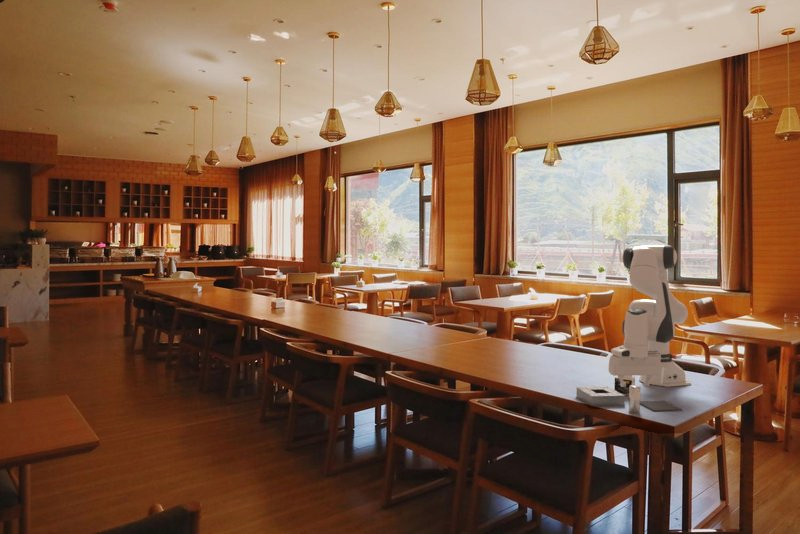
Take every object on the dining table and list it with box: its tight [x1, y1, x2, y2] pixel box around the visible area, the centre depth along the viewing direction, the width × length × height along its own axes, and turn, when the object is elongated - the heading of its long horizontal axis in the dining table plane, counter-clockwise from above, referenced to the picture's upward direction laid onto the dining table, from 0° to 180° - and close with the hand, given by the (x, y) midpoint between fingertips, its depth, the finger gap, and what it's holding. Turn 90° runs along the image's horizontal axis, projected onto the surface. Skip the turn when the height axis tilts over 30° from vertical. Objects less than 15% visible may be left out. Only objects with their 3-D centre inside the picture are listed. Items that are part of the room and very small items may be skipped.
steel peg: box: [628, 384, 642, 415], centre depth 215 cm, size 4×4×10 cm
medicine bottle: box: [613, 375, 636, 396], centre depth 243 cm, size 7×7×12 cm
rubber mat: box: [640, 400, 683, 412], centre depth 223 cm, size 12×12×1 cm
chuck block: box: [576, 386, 626, 407], centre depth 230 cm, size 14×14×4 cm
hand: (634, 386), depth 215 cm, fingers open, 8 cm apart
